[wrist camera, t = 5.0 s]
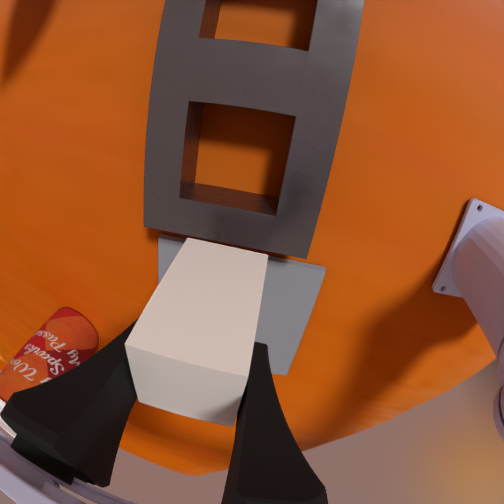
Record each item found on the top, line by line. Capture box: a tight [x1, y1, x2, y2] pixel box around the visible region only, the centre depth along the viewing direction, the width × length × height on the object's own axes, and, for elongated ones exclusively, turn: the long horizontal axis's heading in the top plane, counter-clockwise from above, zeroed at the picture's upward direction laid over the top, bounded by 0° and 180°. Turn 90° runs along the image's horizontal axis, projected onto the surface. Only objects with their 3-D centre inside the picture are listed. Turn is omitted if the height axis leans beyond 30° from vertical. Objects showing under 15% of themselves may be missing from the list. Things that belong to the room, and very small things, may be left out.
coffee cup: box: [0, 307, 99, 438], centre depth 22 cm, size 8×8×15 cm
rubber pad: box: [158, 234, 326, 375], centre depth 24 cm, size 12×12×1 cm
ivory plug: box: [125, 238, 268, 427], centre depth 13 cm, size 4×4×7 cm
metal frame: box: [144, 0, 364, 259], centre depth 14 cm, size 10×20×3 cm, turn 171°
